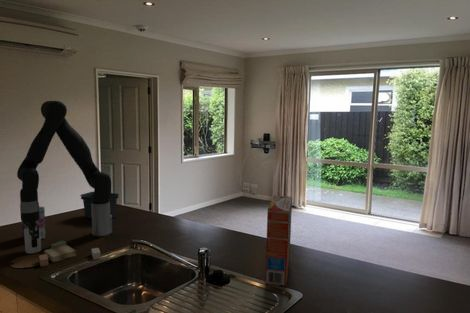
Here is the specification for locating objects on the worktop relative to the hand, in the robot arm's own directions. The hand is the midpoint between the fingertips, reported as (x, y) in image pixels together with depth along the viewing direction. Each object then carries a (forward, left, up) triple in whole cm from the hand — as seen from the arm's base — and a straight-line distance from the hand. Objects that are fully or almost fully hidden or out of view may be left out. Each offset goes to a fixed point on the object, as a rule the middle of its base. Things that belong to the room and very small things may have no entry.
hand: (31, 244), depth 168 cm
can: (-1, 0, -3) cm, 3 cm away
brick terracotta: (+1, +17, -3) cm, 17 cm away
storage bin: (-48, -28, -4) cm, 56 cm away
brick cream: (-17, +25, -2) cm, 30 cm away
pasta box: (-64, +94, -4) cm, 114 cm away
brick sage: (-10, +5, -3) cm, 12 cm away
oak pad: (-7, +14, -3) cm, 16 cm away
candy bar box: (-7, -18, -3) cm, 20 cm away
